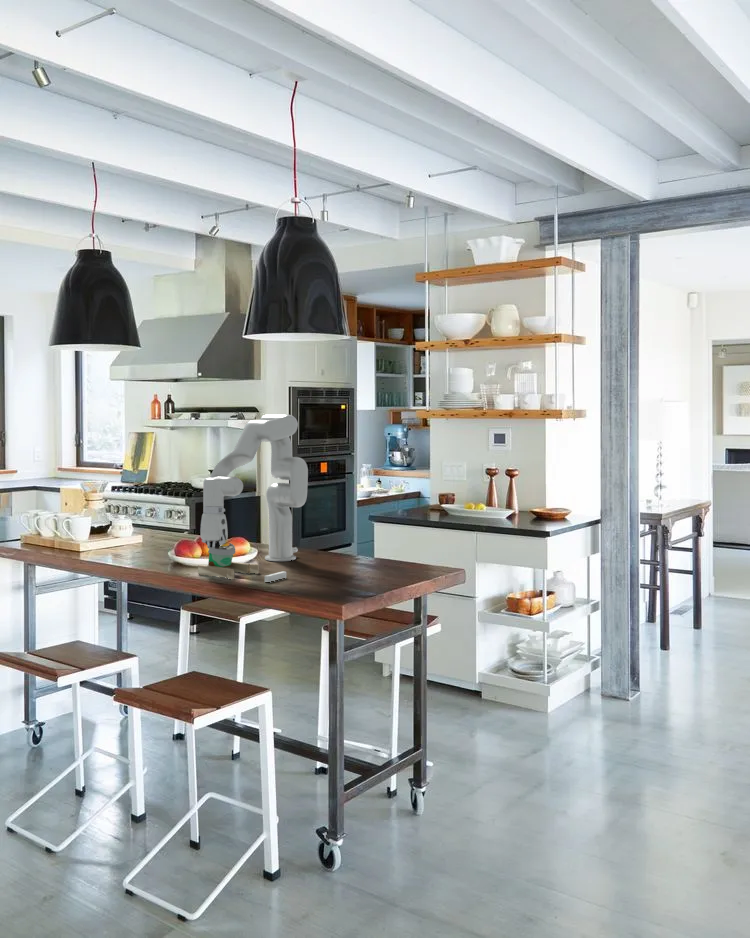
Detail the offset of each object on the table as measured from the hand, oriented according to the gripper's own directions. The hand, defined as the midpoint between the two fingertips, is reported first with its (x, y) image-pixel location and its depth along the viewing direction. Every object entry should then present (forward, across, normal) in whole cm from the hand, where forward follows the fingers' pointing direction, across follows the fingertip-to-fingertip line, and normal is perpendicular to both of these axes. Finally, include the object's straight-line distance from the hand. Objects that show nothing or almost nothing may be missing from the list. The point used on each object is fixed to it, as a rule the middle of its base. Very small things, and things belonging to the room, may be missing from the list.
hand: (213, 558), depth 343 cm
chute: (+5, -7, 0) cm, 9 cm away
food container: (+5, -4, 0) cm, 6 cm away
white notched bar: (+5, -29, 0) cm, 29 cm away
